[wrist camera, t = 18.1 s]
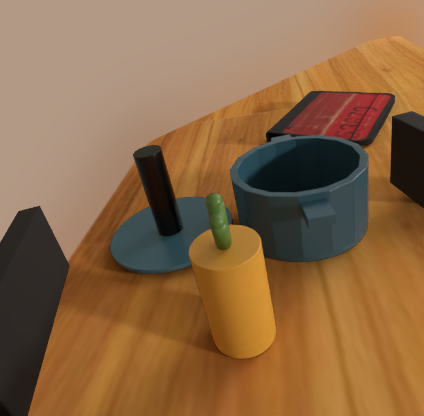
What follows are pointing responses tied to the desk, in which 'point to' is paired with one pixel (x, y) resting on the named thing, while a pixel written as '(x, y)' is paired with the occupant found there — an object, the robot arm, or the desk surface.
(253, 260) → the yellow cylinder green stem
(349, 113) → the binder
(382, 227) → the desk surface
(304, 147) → the pot
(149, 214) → the pot lid
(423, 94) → the desk surface
